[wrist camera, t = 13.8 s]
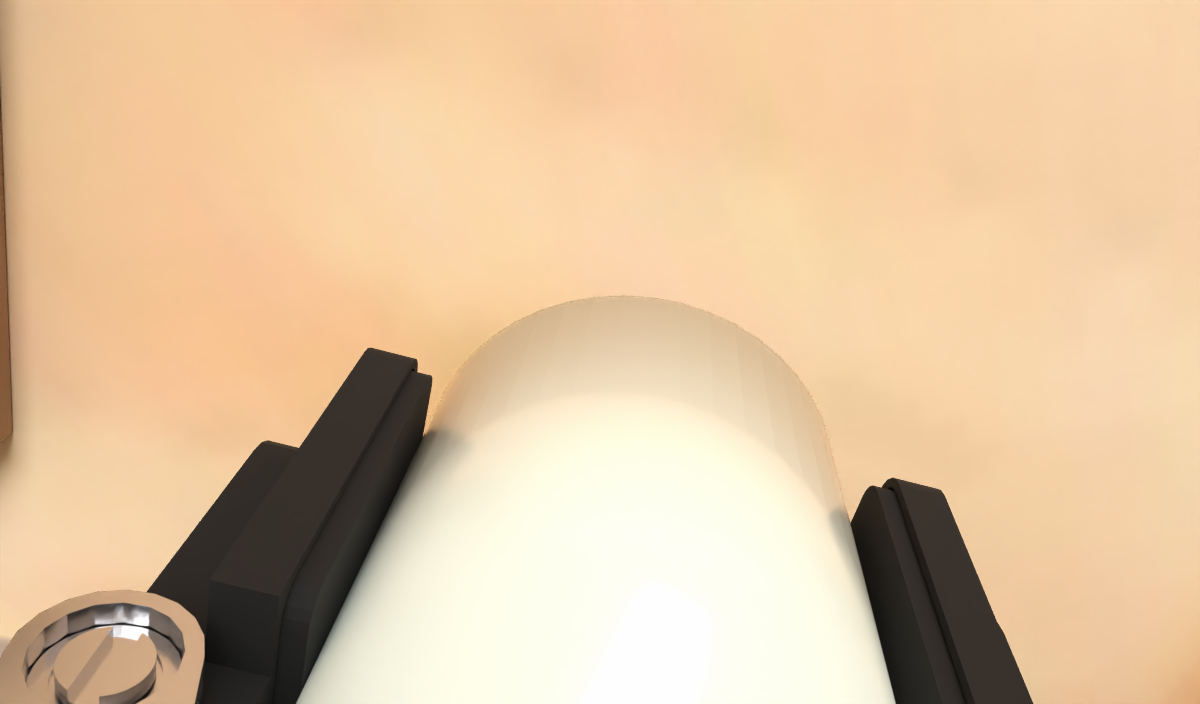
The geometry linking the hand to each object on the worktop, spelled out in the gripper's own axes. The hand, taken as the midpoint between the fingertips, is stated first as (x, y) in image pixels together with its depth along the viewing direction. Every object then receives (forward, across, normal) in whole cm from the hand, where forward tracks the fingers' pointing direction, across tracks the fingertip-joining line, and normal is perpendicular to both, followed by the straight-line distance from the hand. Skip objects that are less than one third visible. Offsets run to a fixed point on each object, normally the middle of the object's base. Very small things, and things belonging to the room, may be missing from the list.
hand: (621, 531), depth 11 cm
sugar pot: (+1, 0, 0) cm, 1 cm away
